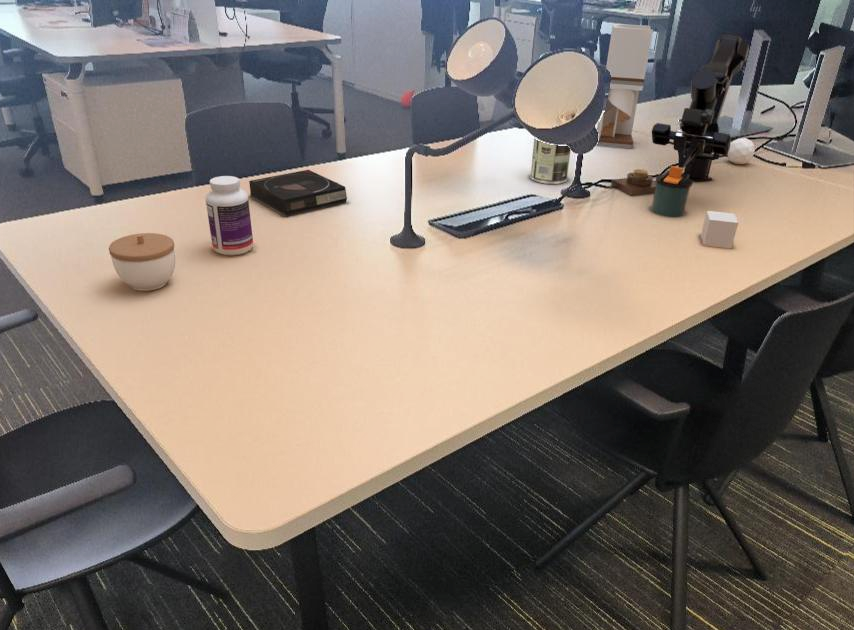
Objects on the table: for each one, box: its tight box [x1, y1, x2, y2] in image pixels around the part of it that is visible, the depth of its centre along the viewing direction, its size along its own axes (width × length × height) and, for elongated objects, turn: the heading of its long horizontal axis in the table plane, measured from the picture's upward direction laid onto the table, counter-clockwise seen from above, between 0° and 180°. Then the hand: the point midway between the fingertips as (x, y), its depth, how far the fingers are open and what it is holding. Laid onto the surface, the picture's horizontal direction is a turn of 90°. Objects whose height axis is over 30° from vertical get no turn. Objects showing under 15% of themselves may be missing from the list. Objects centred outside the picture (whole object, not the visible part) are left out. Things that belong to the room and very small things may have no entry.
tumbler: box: [650, 170, 693, 218], centre depth 172 cm, size 9×9×9 cm
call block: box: [610, 171, 657, 197], centre depth 188 cm, size 11×9×4 cm
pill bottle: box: [205, 175, 254, 256], centre depth 139 cm, size 8×8×14 cm
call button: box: [632, 168, 649, 179], centre depth 187 cm, size 4×4×2 cm
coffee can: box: [529, 137, 571, 185], centre depth 190 cm, size 10×10×14 cm
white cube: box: [700, 210, 739, 249], centre depth 156 cm, size 6×6×6 cm
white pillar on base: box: [596, 23, 654, 150], centre depth 221 cm, size 11×11×35 cm
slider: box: [663, 165, 684, 184], centre depth 168 cm, size 5×3×3 cm
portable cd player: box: [248, 169, 348, 218], centre depth 168 cm, size 16×17×4 cm
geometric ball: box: [727, 137, 756, 165], centre depth 213 cm, size 8×8×8 cm
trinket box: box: [108, 232, 176, 292], centre depth 125 cm, size 11×11×9 cm
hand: (680, 168), depth 173 cm, fingers closed
